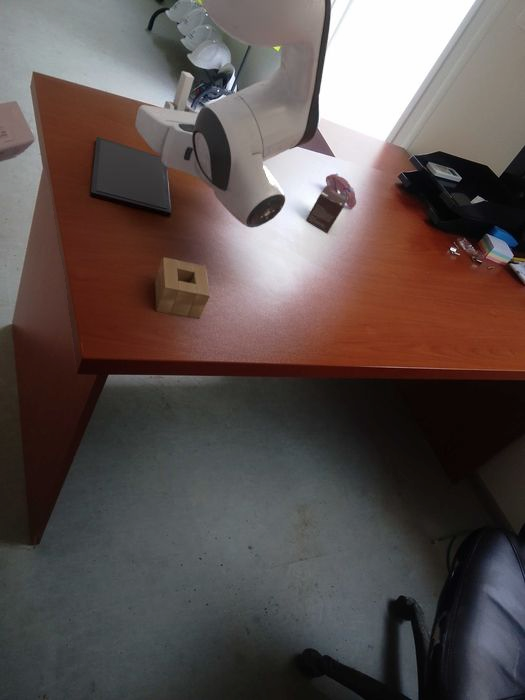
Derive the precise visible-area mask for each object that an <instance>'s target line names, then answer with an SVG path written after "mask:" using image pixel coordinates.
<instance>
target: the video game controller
mask: <svg viewBox="0 0 525 700" xmlns="http://www.w3.org/2000/svg"><path fill="white" fill-rule="evenodd" d="M325 183H326V186H328V187H329V188H331V189H332V190H334V191H336V192H337V193H339V194H341V195H342V196H344V197H346V198H347V201H346V203H345V205H346V207H348V208H349V209H354V208H355V207H356V205H357V199H356V193H355V192H356V191H354V188H353V187H352V186H351V184H350V183H349V181H348V180H347V179H346V178H345V177H343V176H339V174H338V173H337V172H336V173H335V174H334V173H332V174H329V175H327V176H325Z"/></svg>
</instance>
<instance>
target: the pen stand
mask: <svg viewBox="0 0 525 700" xmlns="http://www.w3.org/2000/svg"><path fill="white" fill-rule="evenodd" d="M161 259H162V260H161V262H160V265H159V268H158V271H157V273H156V277H155V280H154V285H155V287H154V288H155V307H156V309H155V310H156V312H158V313H164V314H170V315H177V316H182V317H188V318H194V319H200V318H201V316H202V313H203V312H204V310H205V308H206V305H207V303H208V301H209V299H210V296H211V293H210V288H209V281H208V274H207V273H208V272H207V268H206V266H205V265H201V264H197V263H192V262H188V261H184V260H178V259H176V258H175V259H173V258H170V257H165V256H163V257H162V258H161Z"/></svg>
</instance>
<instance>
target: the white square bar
mask: <svg viewBox="0 0 525 700" xmlns="http://www.w3.org/2000/svg"><path fill="white" fill-rule="evenodd" d="M194 80H195V77H194V76H193V75H192V73H190V72H187V71H184V70H182V71H181V73H180V76H179V79H178V84H177V88H176V91H175V94H174V98H173V101H172V102H174V103H175V104H176V105H177V106H178V108H177V110H179V111H184V110H185V107H186V105H187V104H188V101H189V97H190V93H191V90H192V86H193V83H194Z"/></svg>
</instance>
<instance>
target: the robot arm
mask: <svg viewBox="0 0 525 700" xmlns="http://www.w3.org/2000/svg"><path fill="white" fill-rule="evenodd" d="M200 3H201V5H202V7H203V8H204V10H205V12H206V14H207V15H208V16H209V18H210V19H211V20H212V22H213V23H214V25H216V27H218V28H219V29H220V30H221V31H222V32H224V33H225V34H226V35H228V36H229V37H231V38H232V39H234V40H235V41H237V42H239V43H241V44H244V45H246V46H249V47H253V48H259V49H271V48H278V47H280V64H279V65H280V66H279V67H278V69H276V71H274V72H273V73H272V74H270V75H269V76H267V77H266V78H264V79H262V80H260V81H258V82H256V83H253V84H252V85H249V86H247V87H245V88H243V89H240V90H238V91H236V92H234V93H230V94H228V95H226V96H224V97H221V98H219V99H217V100H215V101H213V102H210V103H209V104H207V105H205V106H203V107H201V109H200V110H199V111H198V110H195V109H193V108H192V107H191V106H190V105H189V104H186V107H185V110H184V111H179V110H177V108H178V106H177V105H176V104H175V103H174V102H173V101H169V100H166V101H165V102H164V105H163V107H160V106H154V105H153V106H152V105H148V104H141V105H140V106H139V108H138V110H137V114H136V116H135V117H136V118H135V128H136V131H137V133H138V134H139V135H140V137H141V138H142V139H143V141H144V142H145V143H146V144H147V146H149V147H150V149H151V150H152V151H154V152H155V153H156V154H158V155H159V156H161V157H162V158H161V161H162V163H163V164H164V165H165V166H166V167H167V169H172V170H176V171H180V172H183V173H186V174H188V175H191V176H192V177H195V178H196V179H198V180H199V179H200V180H202V181H203V183H204V184H205V185H206V186H208V187H209V188H211V189H212V190H213V193H214V196H215V197H216V199H217V200H218V202H220V203H221V205H222V206H223V207H224V208H225V210H226V211H227V212H229V214H231V216H232V217H233V218H235V219H236V220H237V221H238V222H239V223H240V224H242V225H243V226H245V227H247V228H258V227H261V226H262V225H265V224H266V223H268V222H270V221H272V220H273V219H275V217H277V216H278V214H279V213H280V212H281V211H282V209H283V207H284V205H285V203H286V195H285V193H284V192H283V189H282V188H281V186H280V184H279V183H278V182H277V180H276V179H275V177H274V176H273V174H272V173H271V172H270V171H269V169H267V167H266V166H265V165H264V162H266V161H268V160H270V159H272V158H274V157H277V156H278V155H280V154H283V153H285V152H286V151H289V150H292V149H295V148H297V147H300V146H302V145H305V144H307V143H309V142H311V141H312V140H313V139H314V137H315V135H316V133H317V131H318V128H319V126H320V125H319V124H320V122H321V114H322V113H321V111H322V110H321V109H322V108H321V107H322V106H321V87H322V81H323V74H324V67H325V62H326V55H327V47H328V41H329V35H330V27H331V25H330V24H331V15H332V0H200Z"/></svg>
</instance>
